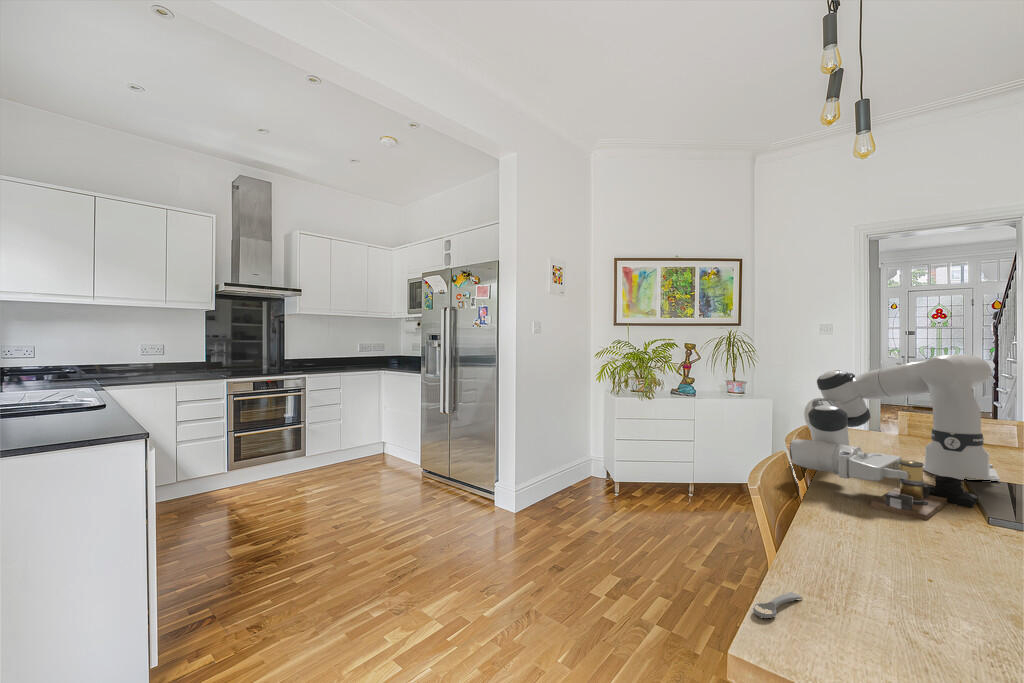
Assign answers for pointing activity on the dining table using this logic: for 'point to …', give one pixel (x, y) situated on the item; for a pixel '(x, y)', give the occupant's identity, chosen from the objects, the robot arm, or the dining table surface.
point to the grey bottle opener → (776, 604)
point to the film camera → (952, 491)
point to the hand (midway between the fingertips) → (913, 472)
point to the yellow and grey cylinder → (912, 480)
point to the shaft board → (916, 508)
